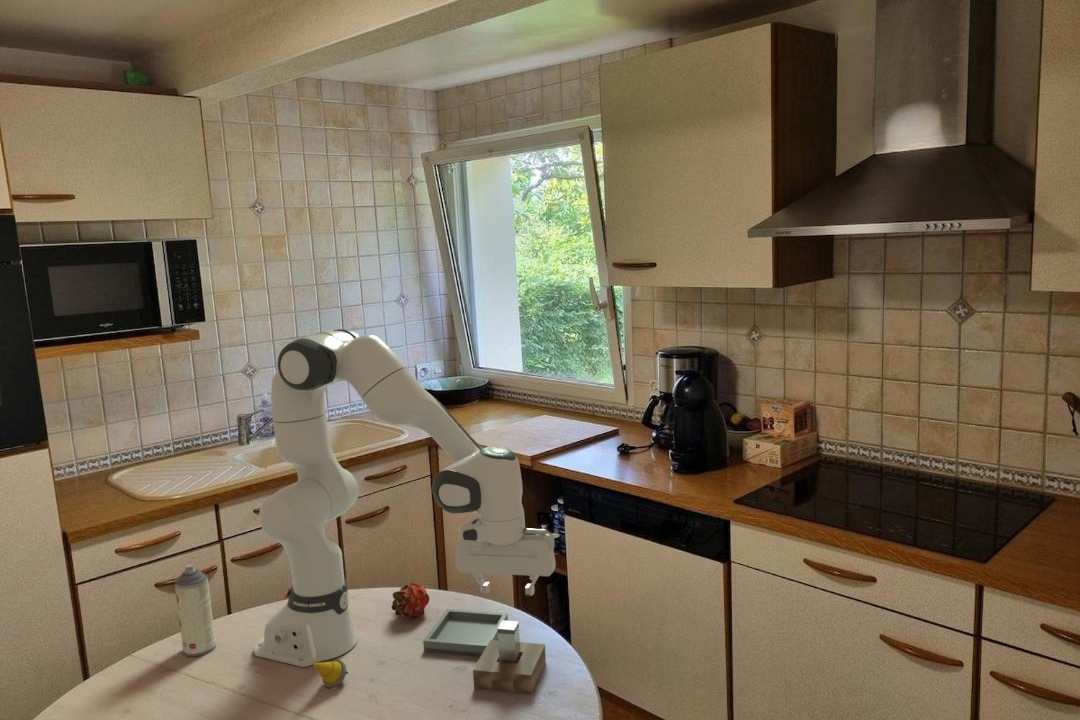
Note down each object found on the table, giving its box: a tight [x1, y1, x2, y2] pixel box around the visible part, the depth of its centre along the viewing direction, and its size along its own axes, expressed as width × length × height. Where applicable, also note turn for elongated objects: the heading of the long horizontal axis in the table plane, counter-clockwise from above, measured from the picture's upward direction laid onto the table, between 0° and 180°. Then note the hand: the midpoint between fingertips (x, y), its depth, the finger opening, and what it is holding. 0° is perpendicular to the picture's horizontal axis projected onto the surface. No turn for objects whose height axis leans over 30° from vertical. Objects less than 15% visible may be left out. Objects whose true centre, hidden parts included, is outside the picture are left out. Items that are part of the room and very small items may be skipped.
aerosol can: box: [174, 563, 217, 658], centre depth 178 cm, size 7×7×20 cm
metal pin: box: [498, 620, 521, 664], centre depth 163 cm, size 4×4×11 cm
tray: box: [422, 608, 509, 657], centre depth 180 cm, size 15×15×2 cm
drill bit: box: [312, 659, 349, 689], centre depth 162 cm, size 5×5×10 cm
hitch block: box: [472, 640, 547, 695], centre depth 163 cm, size 12×12×4 cm
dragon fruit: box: [391, 581, 430, 620], centre depth 191 cm, size 8×8×12 cm
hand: (507, 593), depth 161 cm, fingers open, 8 cm apart
